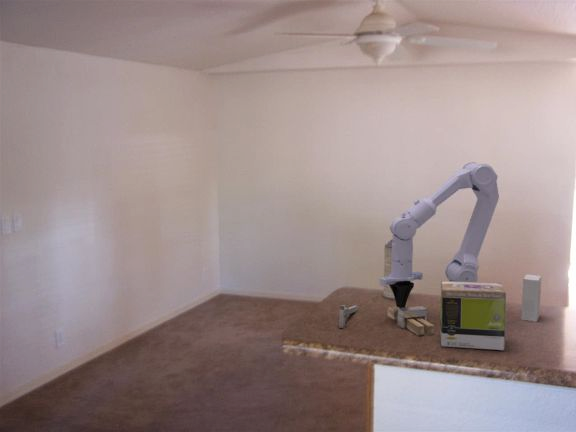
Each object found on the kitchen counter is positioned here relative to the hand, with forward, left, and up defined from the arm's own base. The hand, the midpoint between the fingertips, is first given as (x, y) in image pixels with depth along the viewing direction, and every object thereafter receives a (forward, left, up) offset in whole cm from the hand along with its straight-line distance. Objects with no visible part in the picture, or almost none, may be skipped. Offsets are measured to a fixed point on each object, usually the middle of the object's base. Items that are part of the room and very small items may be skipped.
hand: (400, 307), depth 170 cm
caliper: (+13, -5, -4) cm, 15 cm away
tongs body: (0, +5, -3) cm, 6 cm away
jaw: (+1, +8, -3) cm, 8 cm away
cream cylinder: (-9, -21, -4) cm, 23 cm away
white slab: (0, +7, -3) cm, 8 cm away
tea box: (-8, +23, -4) cm, 24 cm away
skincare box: (-36, +10, -4) cm, 37 cm away
